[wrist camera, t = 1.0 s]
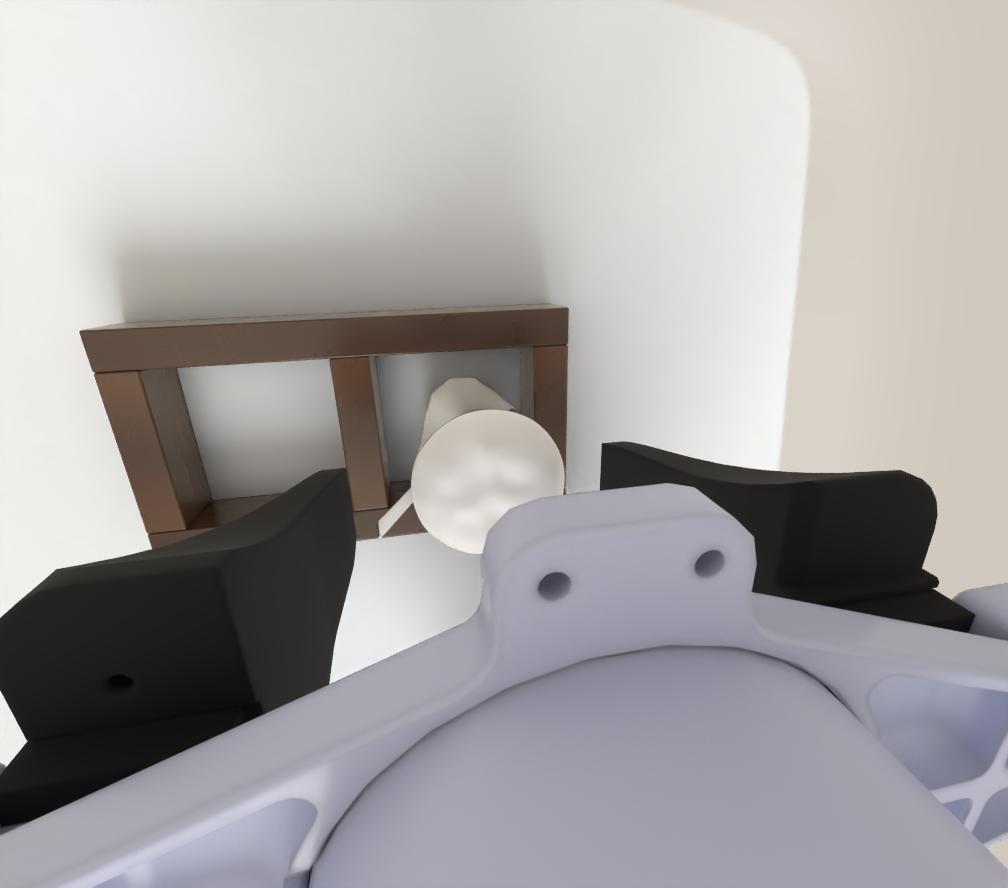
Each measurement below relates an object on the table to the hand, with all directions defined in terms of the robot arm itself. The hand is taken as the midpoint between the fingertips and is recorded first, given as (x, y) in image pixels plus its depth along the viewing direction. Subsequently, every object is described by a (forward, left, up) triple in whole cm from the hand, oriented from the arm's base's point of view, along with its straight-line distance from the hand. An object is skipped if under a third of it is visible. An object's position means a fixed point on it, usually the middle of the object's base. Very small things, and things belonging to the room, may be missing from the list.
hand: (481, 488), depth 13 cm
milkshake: (0, 0, -9) cm, 9 cm away
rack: (0, +4, -9) cm, 9 cm away
